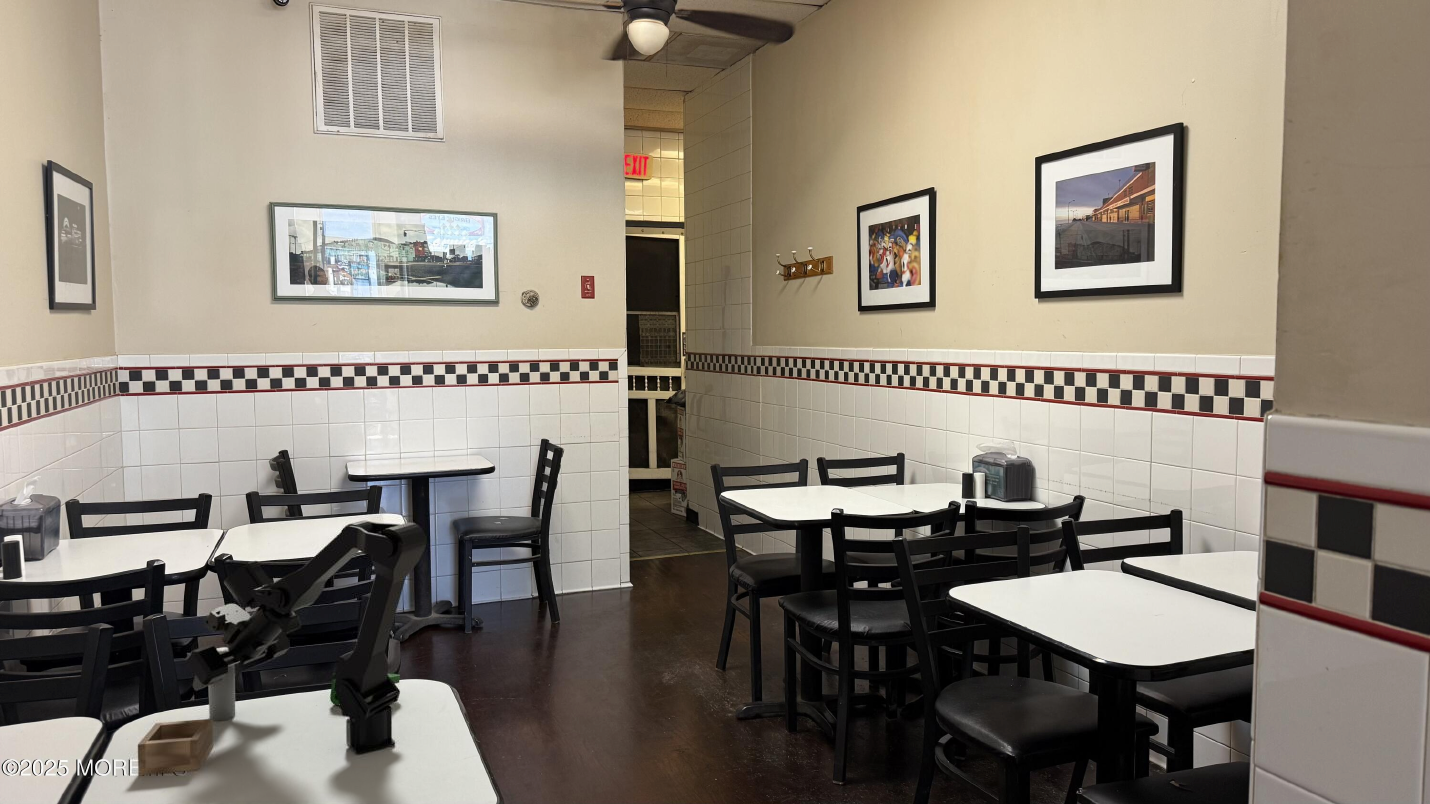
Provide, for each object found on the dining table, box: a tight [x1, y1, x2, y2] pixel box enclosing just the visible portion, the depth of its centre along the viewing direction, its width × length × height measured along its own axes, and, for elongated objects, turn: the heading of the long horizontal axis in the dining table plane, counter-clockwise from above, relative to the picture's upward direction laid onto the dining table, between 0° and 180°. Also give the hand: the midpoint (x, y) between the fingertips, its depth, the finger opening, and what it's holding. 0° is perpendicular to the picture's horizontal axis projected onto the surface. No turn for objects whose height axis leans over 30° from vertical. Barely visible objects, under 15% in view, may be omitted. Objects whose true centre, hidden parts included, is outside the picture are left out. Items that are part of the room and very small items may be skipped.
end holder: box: [137, 718, 214, 776], centre depth 150 cm, size 8×8×5 cm
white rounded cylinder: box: [208, 647, 236, 722], centre depth 168 cm, size 4×4×12 cm
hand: (216, 679), depth 169 cm, fingers open, 9 cm apart
